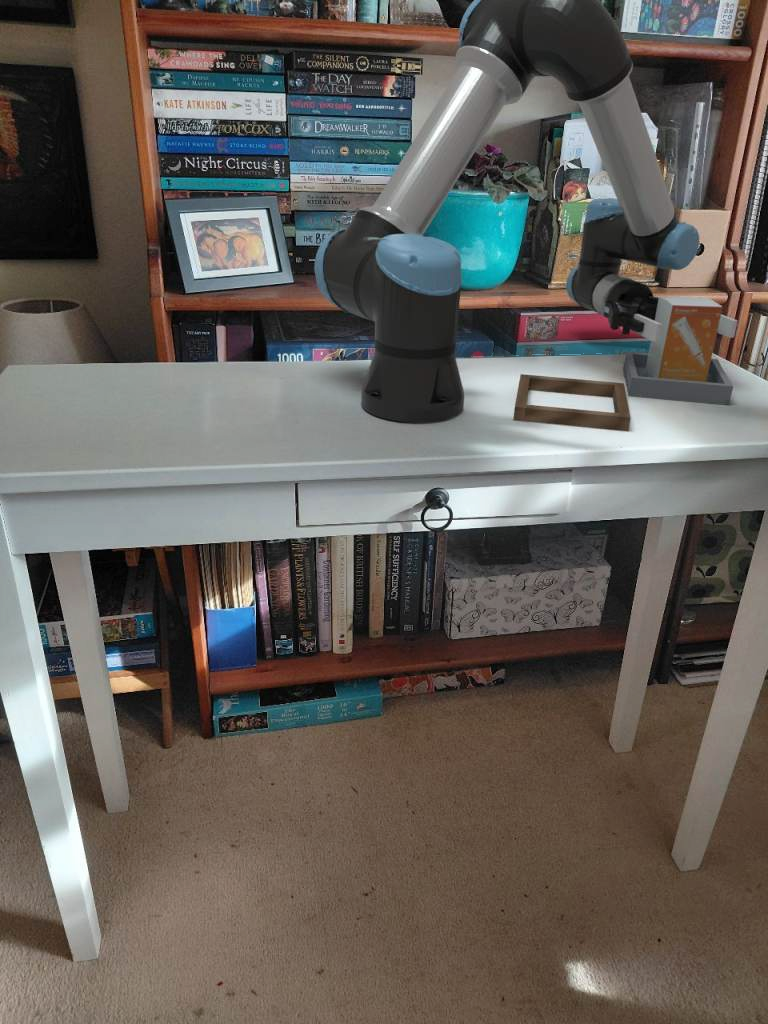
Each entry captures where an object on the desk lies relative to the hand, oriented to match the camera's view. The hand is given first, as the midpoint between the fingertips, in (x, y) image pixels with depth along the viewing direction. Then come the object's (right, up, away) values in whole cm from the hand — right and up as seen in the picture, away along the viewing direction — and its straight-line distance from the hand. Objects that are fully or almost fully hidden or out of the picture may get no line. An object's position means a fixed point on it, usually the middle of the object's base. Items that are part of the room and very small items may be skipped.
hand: (696, 331), depth 127 cm
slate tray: (-1, -7, +7) cm, 10 cm away
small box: (-1, -7, +7) cm, 10 cm away
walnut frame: (-20, -12, -4) cm, 24 cm away
